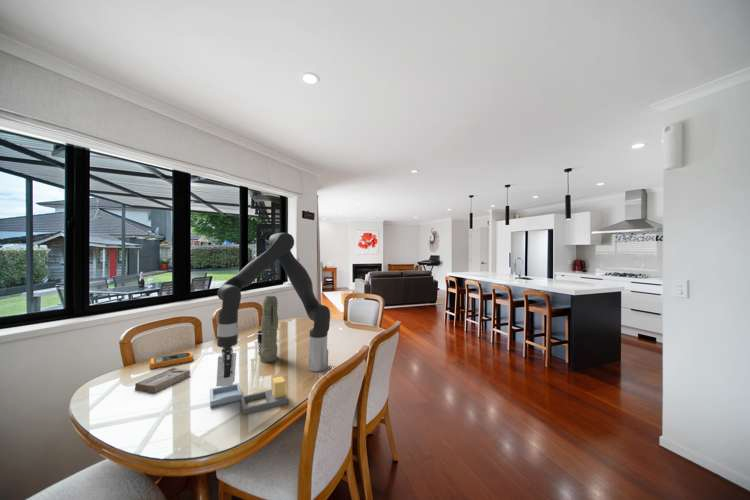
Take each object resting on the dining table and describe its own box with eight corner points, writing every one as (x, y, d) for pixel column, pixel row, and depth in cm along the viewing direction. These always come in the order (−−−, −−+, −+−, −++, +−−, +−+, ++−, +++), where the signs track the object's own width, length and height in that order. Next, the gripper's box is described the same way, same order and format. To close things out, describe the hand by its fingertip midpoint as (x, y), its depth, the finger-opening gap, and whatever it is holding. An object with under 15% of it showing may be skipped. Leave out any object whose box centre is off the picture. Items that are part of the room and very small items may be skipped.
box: (134, 390, 118) (134, 383, 118) (172, 373, 135) (173, 367, 135) (153, 394, 116) (153, 386, 116) (190, 376, 132) (190, 369, 132)
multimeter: (193, 361, 149) (193, 355, 149) (150, 370, 137) (150, 363, 137) (191, 356, 156) (191, 350, 156) (150, 364, 144) (150, 357, 144)
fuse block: (281, 392, 120) (282, 373, 120) (287, 403, 112) (287, 383, 112) (240, 401, 112) (241, 381, 112) (243, 414, 103) (244, 393, 103)
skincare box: (215, 387, 112) (216, 356, 111) (219, 381, 116) (220, 352, 116) (232, 385, 113) (233, 356, 113) (235, 380, 117) (236, 352, 117)
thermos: (267, 364, 147) (269, 298, 147) (255, 358, 154) (257, 296, 154) (282, 359, 155) (284, 296, 155) (269, 354, 162) (271, 294, 162)
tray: (239, 388, 122) (239, 382, 122) (241, 400, 113) (242, 394, 113) (209, 394, 116) (210, 388, 116) (210, 408, 107) (210, 401, 107)
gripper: (239, 337, 110) (238, 379, 110) (236, 327, 122) (235, 366, 122) (218, 339, 106) (216, 383, 106) (216, 329, 119) (215, 369, 119)
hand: (226, 374), depth 114 cm, fingers closed on skincare box, 5 cm apart
